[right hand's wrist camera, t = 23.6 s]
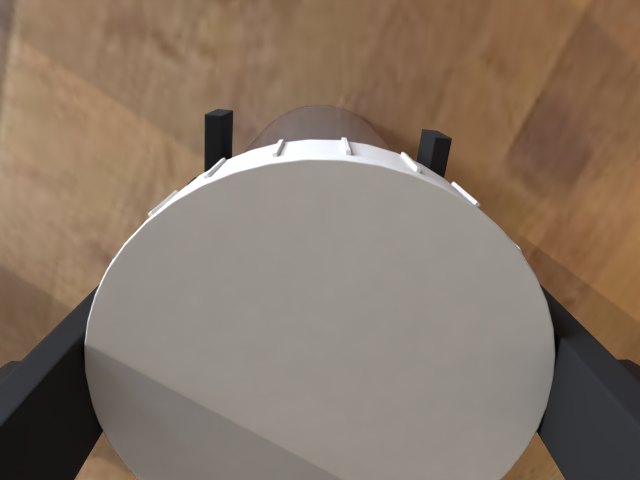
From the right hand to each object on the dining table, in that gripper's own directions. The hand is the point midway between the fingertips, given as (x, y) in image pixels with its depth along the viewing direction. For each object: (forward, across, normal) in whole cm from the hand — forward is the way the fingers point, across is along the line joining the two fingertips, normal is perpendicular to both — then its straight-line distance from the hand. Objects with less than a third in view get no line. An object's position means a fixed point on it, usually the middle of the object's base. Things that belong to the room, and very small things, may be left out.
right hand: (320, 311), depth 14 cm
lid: (-3, 0, 0) cm, 3 cm away
